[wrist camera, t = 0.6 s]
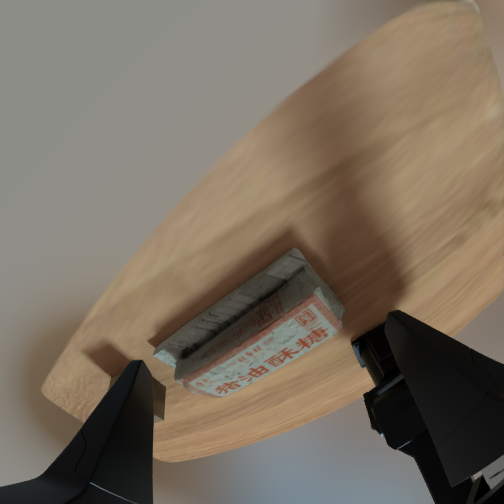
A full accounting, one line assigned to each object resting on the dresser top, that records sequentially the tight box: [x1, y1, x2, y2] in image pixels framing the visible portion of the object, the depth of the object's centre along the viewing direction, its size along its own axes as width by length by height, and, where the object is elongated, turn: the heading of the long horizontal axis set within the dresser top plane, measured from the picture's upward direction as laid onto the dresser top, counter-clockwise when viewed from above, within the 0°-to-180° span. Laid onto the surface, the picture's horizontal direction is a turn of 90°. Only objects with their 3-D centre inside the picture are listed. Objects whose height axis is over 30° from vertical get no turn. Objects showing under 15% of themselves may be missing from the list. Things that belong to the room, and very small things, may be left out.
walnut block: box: [108, 373, 166, 423], centre depth 27 cm, size 5×5×5 cm
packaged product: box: [153, 248, 346, 398], centre depth 26 cm, size 18×5×10 cm
